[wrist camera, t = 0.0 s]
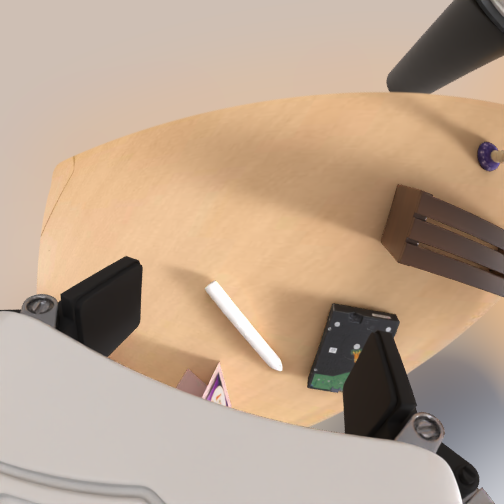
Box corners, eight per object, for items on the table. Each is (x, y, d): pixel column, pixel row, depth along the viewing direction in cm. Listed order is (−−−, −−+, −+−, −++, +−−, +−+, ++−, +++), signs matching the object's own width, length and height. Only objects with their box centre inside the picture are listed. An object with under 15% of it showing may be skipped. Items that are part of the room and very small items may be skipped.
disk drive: (330, 301, 39) (307, 378, 44) (331, 310, 37) (306, 389, 41) (396, 311, 38) (365, 386, 42) (401, 321, 35) (366, 397, 40)
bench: (397, 184, 33) (423, 190, 24) (509, 233, 30) (543, 250, 22) (380, 241, 35) (399, 264, 27) (492, 280, 33) (521, 305, 24)
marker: (288, 364, 44) (286, 373, 41) (277, 369, 44) (275, 378, 42) (217, 278, 41) (212, 284, 39) (207, 285, 42) (201, 291, 40)
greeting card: (235, 406, 49) (213, 467, 35) (200, 403, 51) (172, 459, 37) (224, 361, 46) (193, 426, 32) (184, 359, 48) (147, 417, 34)
